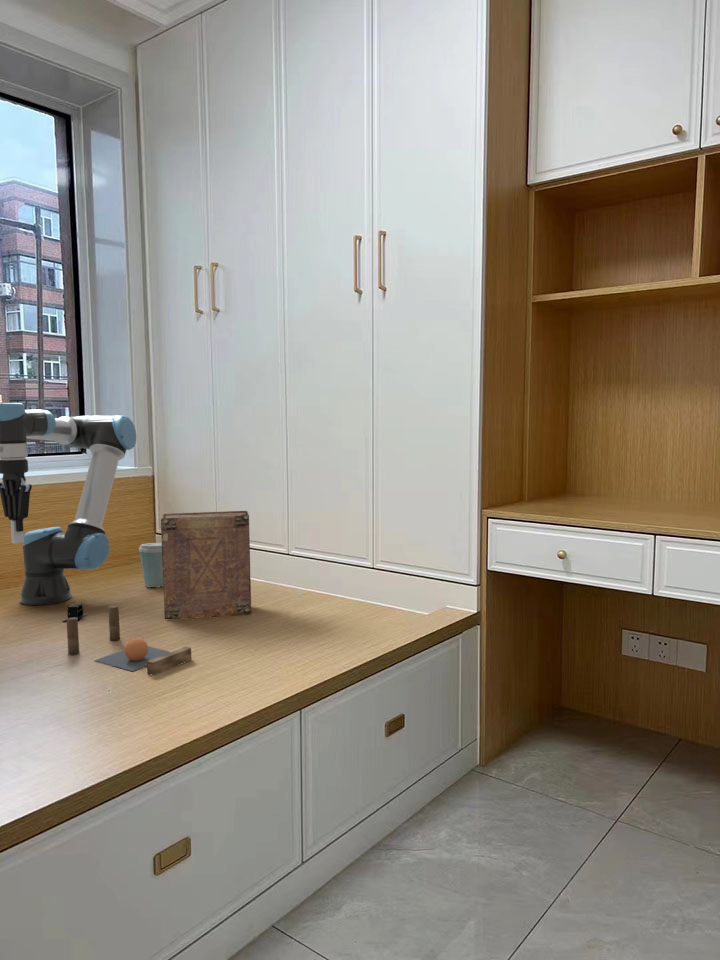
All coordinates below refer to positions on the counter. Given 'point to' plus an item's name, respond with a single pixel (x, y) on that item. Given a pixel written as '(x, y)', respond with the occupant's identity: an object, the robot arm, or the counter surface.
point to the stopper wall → (168, 660)
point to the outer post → (72, 636)
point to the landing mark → (124, 663)
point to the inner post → (114, 623)
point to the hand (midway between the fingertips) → (17, 542)
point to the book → (206, 564)
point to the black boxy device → (75, 612)
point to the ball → (136, 649)
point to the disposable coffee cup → (152, 564)
